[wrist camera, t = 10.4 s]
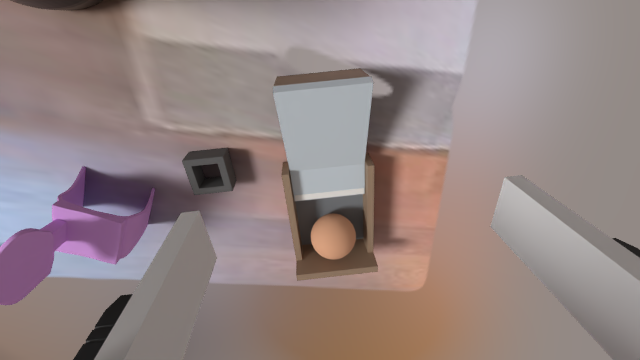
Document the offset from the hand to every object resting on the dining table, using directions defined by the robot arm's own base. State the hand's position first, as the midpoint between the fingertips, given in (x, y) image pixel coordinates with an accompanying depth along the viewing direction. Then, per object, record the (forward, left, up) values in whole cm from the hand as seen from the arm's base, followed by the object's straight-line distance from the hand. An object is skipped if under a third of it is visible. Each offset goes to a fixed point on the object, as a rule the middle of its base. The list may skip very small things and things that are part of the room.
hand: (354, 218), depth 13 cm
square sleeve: (+7, -14, -22) cm, 27 cm away
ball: (+16, 0, -22) cm, 27 cm away
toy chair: (+10, -27, -23) cm, 37 cm away
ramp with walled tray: (+9, 0, -22) cm, 24 cm away
